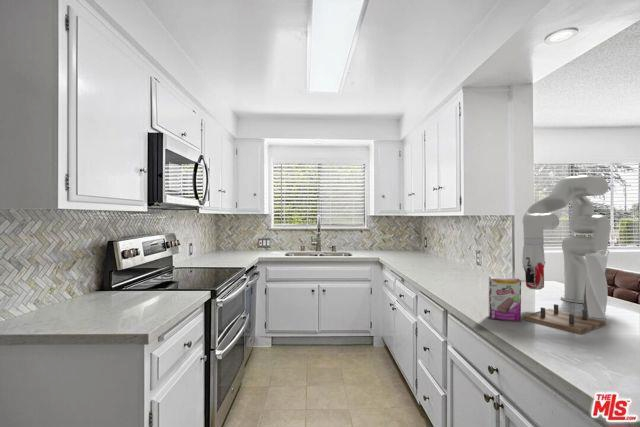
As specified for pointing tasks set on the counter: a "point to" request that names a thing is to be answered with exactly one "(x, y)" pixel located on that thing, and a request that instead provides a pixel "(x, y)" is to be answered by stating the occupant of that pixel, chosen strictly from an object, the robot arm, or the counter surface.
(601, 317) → the skyscraper
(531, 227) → the robot arm
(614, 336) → the counter surface
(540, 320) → the brown peg board
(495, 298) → the candy bar box
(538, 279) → the soda can
